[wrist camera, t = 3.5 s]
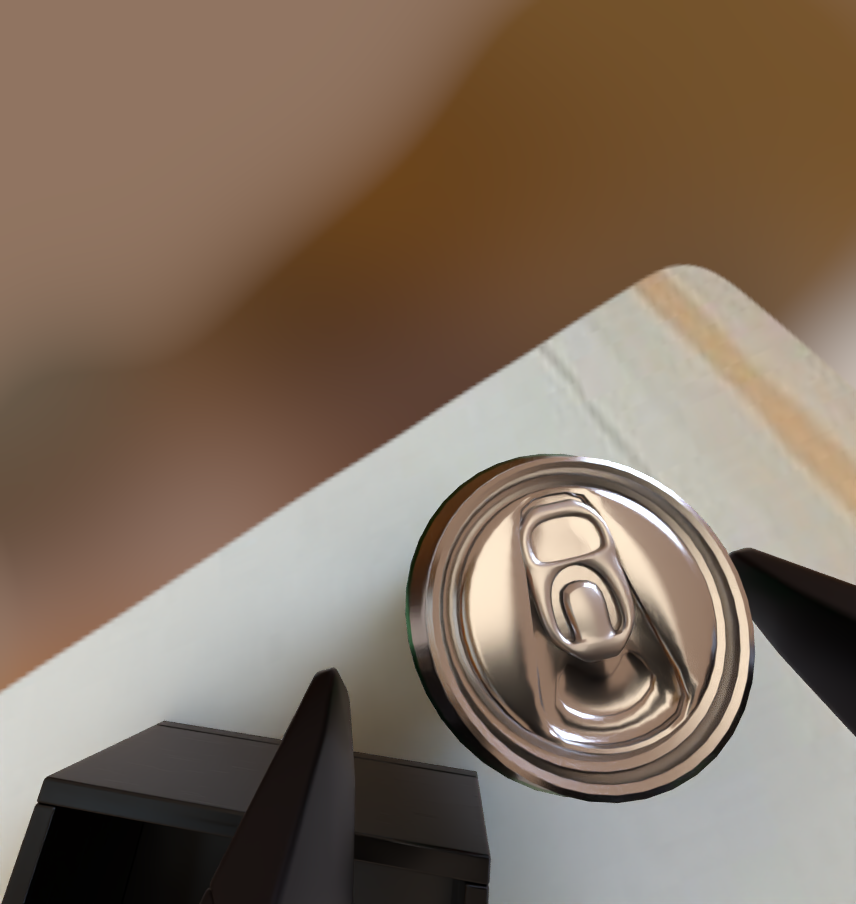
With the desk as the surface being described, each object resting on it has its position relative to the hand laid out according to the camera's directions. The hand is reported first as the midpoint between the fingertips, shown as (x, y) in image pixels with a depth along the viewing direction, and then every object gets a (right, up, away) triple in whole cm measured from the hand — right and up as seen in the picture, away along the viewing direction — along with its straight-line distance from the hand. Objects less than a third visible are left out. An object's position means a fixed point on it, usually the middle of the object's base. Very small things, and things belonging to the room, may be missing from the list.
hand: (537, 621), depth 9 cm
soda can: (0, -2, +8) cm, 8 cm away
